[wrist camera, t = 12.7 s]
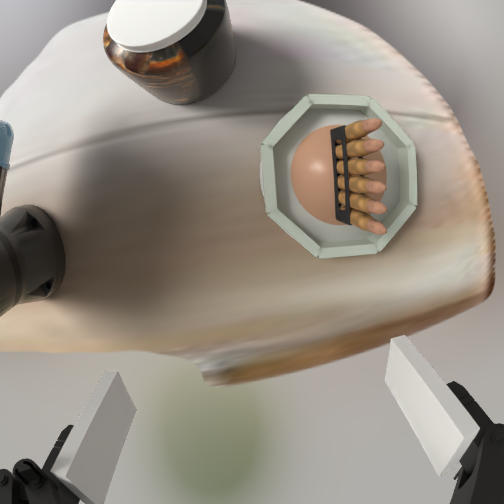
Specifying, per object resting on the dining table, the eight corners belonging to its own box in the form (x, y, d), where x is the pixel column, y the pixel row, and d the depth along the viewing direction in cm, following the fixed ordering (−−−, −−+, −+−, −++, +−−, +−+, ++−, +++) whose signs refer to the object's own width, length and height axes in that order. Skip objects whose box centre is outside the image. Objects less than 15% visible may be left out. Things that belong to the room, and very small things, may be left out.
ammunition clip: (350, 219, 33) (395, 242, 22) (335, 219, 33) (375, 244, 22) (344, 129, 31) (390, 111, 19) (329, 129, 31) (369, 109, 19)
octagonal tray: (265, 255, 36) (267, 265, 33) (253, 102, 31) (253, 93, 28) (403, 244, 36) (417, 252, 32) (397, 104, 31) (411, 99, 27)
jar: (229, 107, 32) (213, 62, 17) (138, 105, 31) (75, 73, 17) (240, 27, 28) (235, -43, 14) (153, 28, 28) (110, -29, 14)
